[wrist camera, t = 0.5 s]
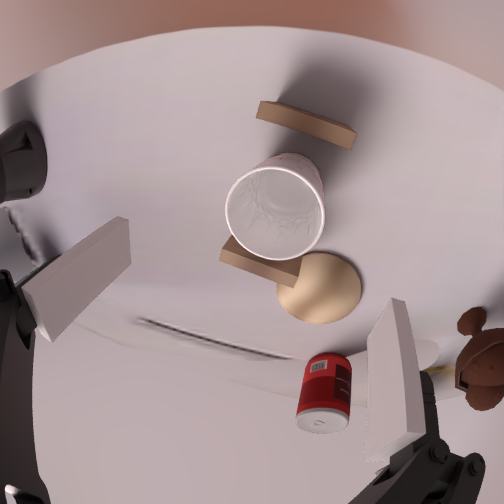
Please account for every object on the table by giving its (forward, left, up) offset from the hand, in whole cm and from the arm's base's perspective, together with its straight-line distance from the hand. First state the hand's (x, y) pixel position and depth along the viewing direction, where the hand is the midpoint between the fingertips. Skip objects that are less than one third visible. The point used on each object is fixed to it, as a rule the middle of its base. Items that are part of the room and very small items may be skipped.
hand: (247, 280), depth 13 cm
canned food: (+16, -27, -20) cm, 37 cm away
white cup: (0, -1, -20) cm, 20 cm away
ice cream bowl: (+33, -9, -20) cm, 39 cm away
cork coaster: (+8, -13, -20) cm, 25 cm away
